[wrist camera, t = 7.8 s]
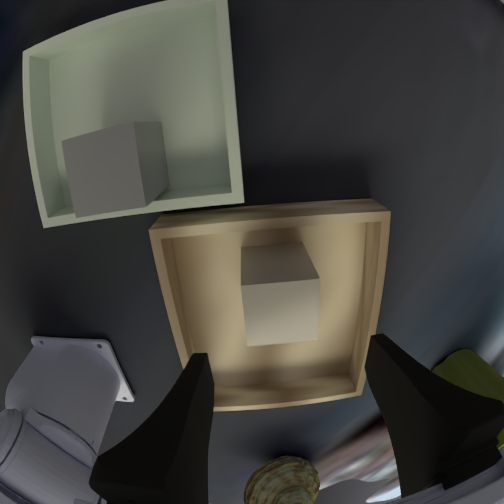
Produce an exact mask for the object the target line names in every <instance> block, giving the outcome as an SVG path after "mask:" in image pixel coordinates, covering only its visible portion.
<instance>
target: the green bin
mask: <svg viewBox="0 0 504 504" xmlns="http://www.w3.org/2000/svg"><path fill="white" fill-rule="evenodd" d="M23 102H24V117H25V128H26V137H27V145H28V153H29V160H30V166H31V172H32V178H33V183H34V189H35V194H36V198H37V203H38V207H39V212H40V216H41V220H42V224H43V228H47V227H53V226H59V225H66V224H72V223H78V222H85V221H91V220H98V219H105V218H112V217H120V216H127V215H135V214H143V213H151V212H159V211H168V210H176V209H186V208H195V207H205V206H215V205H226V204H237V203H244V187H243V175H242V163H241V152H240V140H239V128H238V116H237V105H236V93H235V81H234V69H233V57H232V45H231V32H230V20H229V9H228V0H167V1H162V2H157V3H153V4H148V5H144V6H140V7H137V8H133V9H129V10H126V11H122V12H119V13H115V14H112V15H109V16H106V17H103V18H100V19H97V20H94V21H91V22H89V23H86V24H83V25H81V26H78V27H75V28H73V29H70V30H68V31H66V32H63V33H61V34H59V35H56V36H54V37H52V38H50V39H47V40H45V41H43V42H41V43H39V44H37V45H35V46H33V47H31V48H29V49H27V50H25V51H23ZM131 122H162V130H163V138H164V147H165V154H166V162H167V169H168V176H169V183H170V186H169V187H168V188H167V189H166V190H164V191H163V192H162V193H161V194H160V195H159V196H158V197H157V198H156V199H155V200H153V201H152V202H151V203H150V204H149V205H148V206H147V207H143V208H136V209H129V210H123V211H116V212H110V213H103V214H97V215H91V216H85V217H79V218H76V216H75V212H74V208H73V203H72V199H71V194H70V189H69V184H68V179H67V173H66V167H65V161H64V155H63V148H62V141H63V140H66V139H69V138H73V137H76V136H79V135H83V134H86V133H90V132H94V131H97V130H101V129H105V128H109V127H113V126H117V125H122V124H126V123H131Z"/></svg>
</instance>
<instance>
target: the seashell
mask: <svg viewBox="0 0 504 504" xmlns="http://www.w3.org/2000/svg"><path fill="white" fill-rule="evenodd" d="M319 487H320V480H319V476H318V472H317V471H316V470H315V468H314V466H313V465H312V464H311V463H310V462H309V461H307V460H304V459H302V458H301V457H295V456H281V457H278V458H275V459H273V460H270V461H269V462H267V463H265V464H264V465H263V466H261V467H260V468H258V469H257V470H256V471H255V472H254V473H253V474H252V476H251V477H250V479H249V480H248V482H247V484H246V487H245V491H244V502H245V504H313V503H314V501H315V499H316V497H317V494H318V491H319Z"/></svg>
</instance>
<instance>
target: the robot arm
mask: <svg viewBox="0 0 504 504" xmlns="http://www.w3.org/2000/svg"><path fill="white" fill-rule="evenodd" d="M31 341H32V343H33V345H34V347H33V349H32V350H31V351H30V353H29V354H28V356H27V357H26V359H25V360H24V361H23V363H22V364H21V366H20V367H19V369H18V370H17V372H16V373H15V375H14V376H13V378H12V379H11V381H10V383H9V385H8V387H7V391H6V397H5V404H6V409H5V410H3V411H2V412H1V413H0V482H2V483H3V484H4V485H6V486H7V487H9V488H10V489H12V490H13V491H15V492H16V493H18V494H19V495H21V496H22V497H24V498H26V499H27V500H29V501H30V502H32V503H34V504H208V446H209V438H210V431H211V424H212V417H213V410H214V387H215V384H214V380H213V375H212V371H211V367H210V363H209V358H208V354H207V353H193V354H192V355H191V357H190V359H189V361H188V363H187V364H186V366H185V368H184V370H183V371H182V373H181V375H180V376H179V378H178V379H177V381H176V383H175V384H174V386H173V387H172V389H171V390H170V392H169V393H168V394H167V396H166V397H165V398H164V400H163V401H162V402H161V404H160V405H159V406H158V407H157V408H156V410H155V411H154V412H153V413H152V414H151V415H150V416H149V417H148V418H147V419H146V420H145V421H144V422H143V423H142V424H141V425H140V426H139V427H138V428H137V429H136V430H135V431H134V432H133V433H131V434H130V435H129V436H128V437H126V438H125V439H124V440H123V441H121V442H120V443H119V444H117V445H116V446H114V447H113V448H111V449H110V450H108V451H106V452H105V453H103V454H101V455H100V456H98V457H97V454H98V451H99V447H100V444H101V441H102V438H103V435H104V432H105V429H106V426H107V423H108V420H109V418H110V415H111V412H112V409H113V406H114V403H115V401H126V402H133V401H134V399H135V397H134V395H133V393H132V391H131V388H130V386H129V384H128V382H127V380H126V378H125V376H124V374H123V372H122V369H121V367H120V365H119V363H118V361H117V358H116V356H115V354H114V351H113V349H112V347H111V344H110V343H109V342H108V341H107V340H104V339H75V338H56V337H41V336H33V337H32V338H31ZM99 344H100V345H99ZM364 368H365V372H366V376H367V379H368V382H369V386H370V388H371V391H372V393H373V395H374V398H375V400H376V402H377V404H378V407H379V409H380V411H381V414H382V416H383V418H384V421H385V423H386V426H387V428H388V432H389V435H390V439H391V442H392V446H393V450H394V455H395V459H396V464H397V469H398V475H399V482H400V490H401V499H398V500H395V501H392V502H388V503H385V504H501V503H502V502H504V446H503V447H502V448H500V449H499V450H498V448H497V446H496V445H498V444H499V441H498V439H497V436H498V434H499V433H500V432H501V431H502V429H503V428H504V403H503V402H502V401H501V400H497V399H493V398H489V397H485V396H482V395H479V394H476V393H473V392H470V391H468V390H465V389H463V388H461V387H459V386H456V385H454V384H452V383H450V382H448V381H447V380H445V379H443V378H441V377H440V376H438V375H436V374H435V373H433V372H432V371H430V370H429V369H427V368H426V367H424V366H423V365H422V364H420V363H419V362H418V361H416V360H415V359H414V358H412V357H411V356H410V355H409V354H407V353H406V352H405V351H404V350H402V349H401V348H400V347H399V346H398V345H396V344H395V343H394V342H393V341H392V340H391V339H389V338H388V337H387V336H386V335H384V334H383V333H382V334H376V335H371V337H370V342H369V347H368V352H367V357H366V362H365V366H364ZM0 504H31V503H29V502H27V501H26V500H24V499H23V498H21V497H19V496H18V495H17V494H15V493H14V492H12V491H11V490H9V489H8V488H6V487H5V486H3V485H2V484H1V483H0Z"/></svg>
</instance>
